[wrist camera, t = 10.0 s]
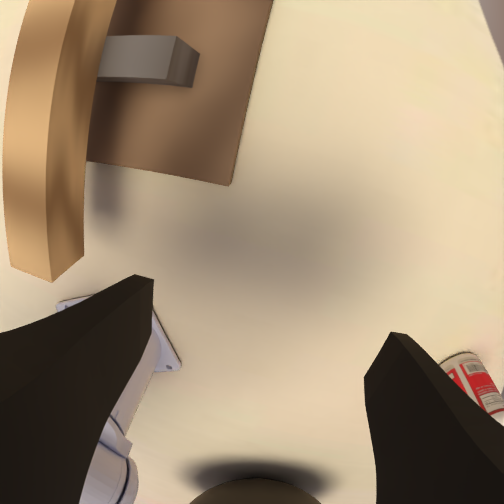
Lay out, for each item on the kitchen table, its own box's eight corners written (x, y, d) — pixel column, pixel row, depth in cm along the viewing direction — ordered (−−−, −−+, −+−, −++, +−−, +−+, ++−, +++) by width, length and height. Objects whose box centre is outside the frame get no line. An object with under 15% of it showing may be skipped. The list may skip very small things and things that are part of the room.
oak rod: (84, 255, 15) (51, 282, 12) (44, 243, 14) (10, 266, 12) (160, -99, 6) (139, -126, 3) (111, -89, 6) (85, -111, 3)
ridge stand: (26, 150, 17) (-21, 164, 13) (54, -1, 12) (10, -14, 8) (231, 182, 17) (213, 206, 13) (275, -9, 12) (273, -49, 8)
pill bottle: (424, 404, 24) (453, 495, 14) (421, 368, 22) (460, 474, 12) (476, 379, 23) (515, 462, 13) (480, 339, 21) (533, 432, 11)
